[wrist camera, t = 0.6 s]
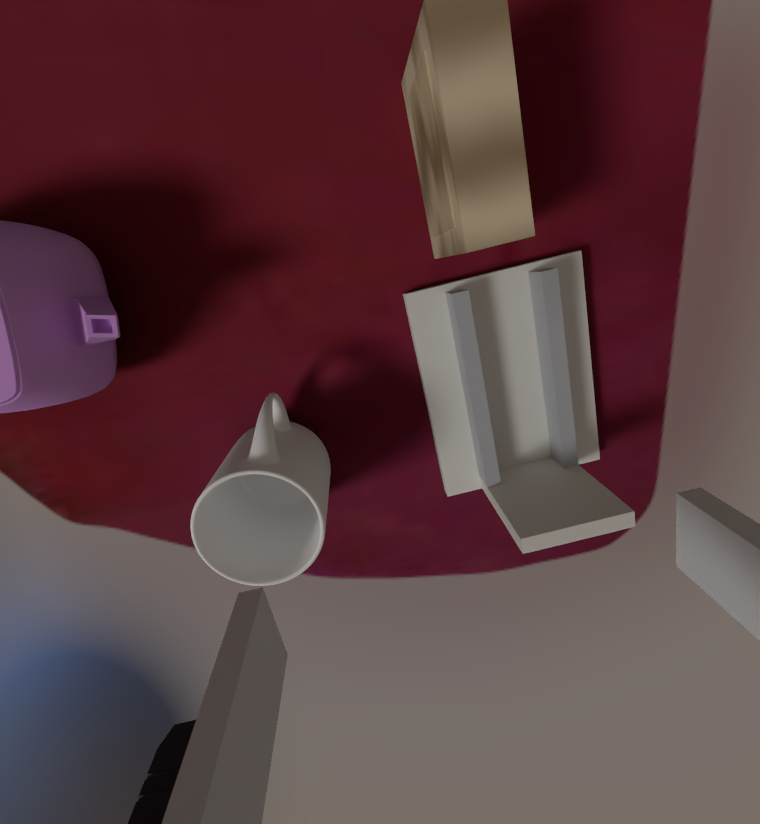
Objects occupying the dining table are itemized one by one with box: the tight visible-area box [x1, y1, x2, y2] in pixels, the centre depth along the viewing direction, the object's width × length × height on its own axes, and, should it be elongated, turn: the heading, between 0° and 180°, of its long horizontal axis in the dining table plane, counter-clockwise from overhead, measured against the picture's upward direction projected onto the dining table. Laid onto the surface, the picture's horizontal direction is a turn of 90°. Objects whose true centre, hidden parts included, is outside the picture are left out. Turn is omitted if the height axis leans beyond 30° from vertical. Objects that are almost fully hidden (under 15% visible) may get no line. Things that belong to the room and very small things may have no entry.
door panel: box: [402, 0, 535, 259], centre depth 28 cm, size 12×4×10 cm, turn 13°
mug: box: [191, 393, 331, 586], centre depth 33 cm, size 9×12×11 cm
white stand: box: [403, 251, 635, 554], centre depth 33 cm, size 18×14×11 cm
